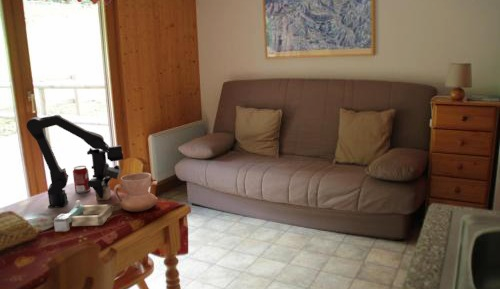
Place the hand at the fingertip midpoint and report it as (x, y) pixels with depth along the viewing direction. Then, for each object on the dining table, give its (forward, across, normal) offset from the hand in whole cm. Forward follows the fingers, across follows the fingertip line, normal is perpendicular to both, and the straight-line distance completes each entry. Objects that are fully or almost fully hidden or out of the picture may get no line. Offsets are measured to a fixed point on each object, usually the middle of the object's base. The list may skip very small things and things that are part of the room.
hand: (103, 196), depth 191 cm
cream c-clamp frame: (+1, -24, -3) cm, 24 cm away
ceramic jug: (+2, -14, -19) cm, 24 cm away
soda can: (+2, +12, +14) cm, 18 cm away
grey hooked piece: (+1, -25, +5) cm, 25 cm away
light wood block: (+1, 0, 0) cm, 1 cm away
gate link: (+1, -24, +5) cm, 24 cm away
